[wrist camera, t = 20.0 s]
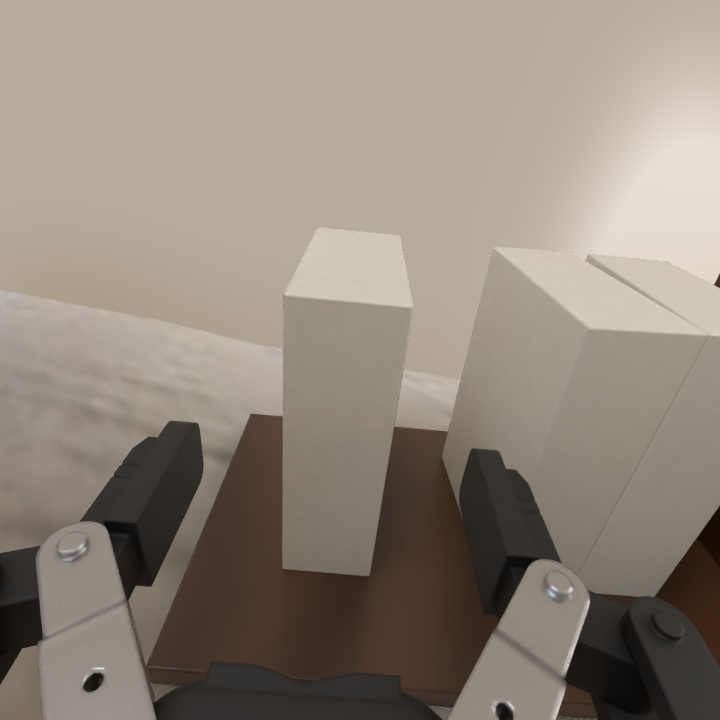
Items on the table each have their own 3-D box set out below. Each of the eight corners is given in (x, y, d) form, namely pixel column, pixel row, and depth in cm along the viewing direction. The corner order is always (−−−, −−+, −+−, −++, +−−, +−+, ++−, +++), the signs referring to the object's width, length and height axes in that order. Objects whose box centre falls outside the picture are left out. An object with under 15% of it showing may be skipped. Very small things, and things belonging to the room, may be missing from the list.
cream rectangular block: (485, 593, 18) (589, 327, 12) (441, 456, 25) (492, 245, 19) (569, 592, 18) (710, 334, 12) (502, 458, 25) (571, 251, 19)
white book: (569, 592, 18) (710, 333, 12) (514, 458, 25) (587, 253, 19) (654, 598, 18) (835, 346, 12) (576, 464, 25) (667, 261, 19)
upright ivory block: (281, 569, 18) (282, 293, 12) (308, 441, 25) (317, 226, 19) (369, 577, 18) (414, 306, 12) (371, 447, 25) (400, 235, 19)
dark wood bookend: (149, 683, 15) (33, 299, 8) (251, 425, 27) (241, 186, 20) (864, 740, 15) (1350, 424, 8) (647, 461, 27) (771, 239, 20)
